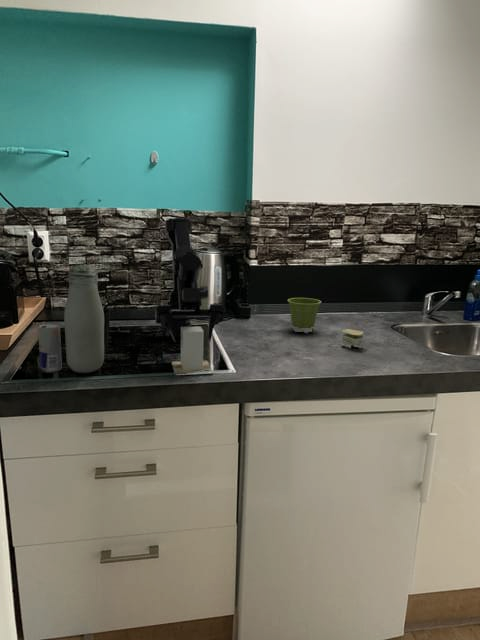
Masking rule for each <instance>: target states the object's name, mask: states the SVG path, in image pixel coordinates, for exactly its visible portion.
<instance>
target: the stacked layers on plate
mask: <svg viewBox="0 0 480 640" xmlns="http://www.w3.org/2000/svg"><path fill="white" fill-rule="evenodd" d="M342 332H343V333H342V334H341V337H342V339H341V341H342V340H343V341H346V342H350V343H351V344H353V345H359V343H361V342H363V338H364V331H362V330H355V329H351V328H347V329H344V330H342Z"/></svg>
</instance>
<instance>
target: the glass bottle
mask: <svg viewBox="0 0 480 640" xmlns="http://www.w3.org/2000/svg"><path fill="white" fill-rule="evenodd" d="M67 280H68V283H69V284H68V285H69V289H68V293H67V294H68V295H67V298H66V303H65V306H64V311H63V313H64V314H63V319H64V321H63V322H64V338H65V340H64V341H65V351H66V352H65V354H66V364H67V365H68V367H69V368H70V369H71V370H72V371H73V372H74V373H79V374H89V373H93V372H96V371H98V370H99V369H101V367H102V366H103V364H104V362H105V361H104V360H105V352H104V311H103V309H104V308H103V305H102V301H101V297H100V294H99V288H98V283H99V276H98V270H97V269H96V268H95V267H92V265H77V266H75V267H72V268H71V269H69V270H68V278H67Z"/></svg>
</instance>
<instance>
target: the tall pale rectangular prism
mask: <svg viewBox="0 0 480 640" xmlns="http://www.w3.org/2000/svg"><path fill="white" fill-rule="evenodd" d="M204 333H205V332H204V329H203V327H202V326H200V325H199V326H191V327H181V339H180V361H181V366H182V369H183V370H203V361H204V336H205V335H204Z"/></svg>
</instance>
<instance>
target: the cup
mask: <svg viewBox="0 0 480 640" xmlns="http://www.w3.org/2000/svg"><path fill="white" fill-rule="evenodd" d="M103 311H104V353H106V352H108V351H109V350H108V349H109V338H110V336H109V335H110V323H111V322H110V321H111V310H109V309H107V308H103Z"/></svg>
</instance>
